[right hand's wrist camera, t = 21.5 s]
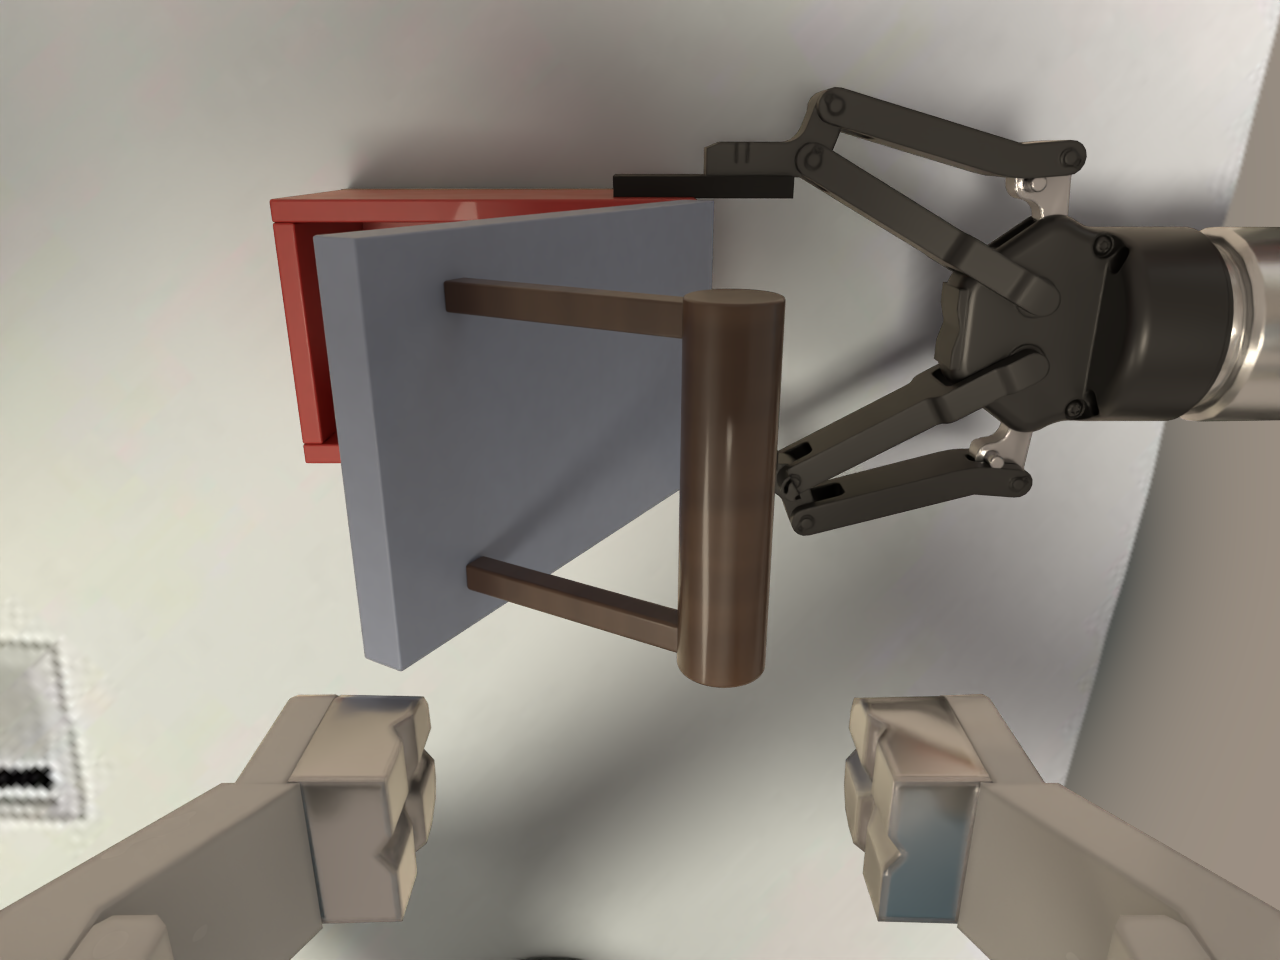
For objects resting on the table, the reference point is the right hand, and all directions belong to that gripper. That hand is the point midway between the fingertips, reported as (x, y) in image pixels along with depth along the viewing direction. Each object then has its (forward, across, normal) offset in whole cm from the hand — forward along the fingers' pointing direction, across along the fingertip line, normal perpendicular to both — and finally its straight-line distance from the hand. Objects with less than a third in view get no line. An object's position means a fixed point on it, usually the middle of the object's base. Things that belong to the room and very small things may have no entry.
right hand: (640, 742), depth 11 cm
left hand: (+26, -1, 0) cm, 26 cm away
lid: (+17, -3, 0) cm, 17 cm away
